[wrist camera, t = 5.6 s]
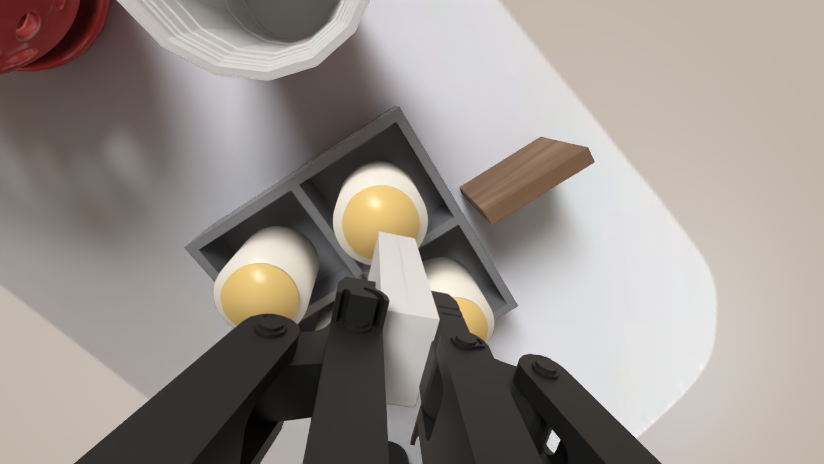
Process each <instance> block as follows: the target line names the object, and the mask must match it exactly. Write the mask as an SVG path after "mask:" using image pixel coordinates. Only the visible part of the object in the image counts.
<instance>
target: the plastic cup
mask: <svg viewBox="0 0 824 464" xmlns="http://www.w3.org/2000/svg"><path fill="white" fill-rule="evenodd" d="M117 1H118V2H119V3H120V4H121V5H122V6H123V7H124V8H125V9H126V10H127V11H128V12H129V14H130V15H131V16H132V17H133V18H134V19H135V20H136V21H137V22H138V23H139V24H140V25H141V26H142V27H143V28H144V29H145V30H146V31H147V32H148V33H149V34H150V35H151V36H152V37H153V38H154V39H155V40H156V41H157V42H158V43H159V44H160V45H161V47H163V48H165V49H167V50H169V51H171V52H172V53H174V54H176V55H178V56H180V57H182V58H184V59H186V60H188V61H190V62H192V63H194V64H196V65H198V66H199V67H201V68H203V69H205V70H207V71H209V72H211V73H213V74H215V75H222V76H230V77H239V78H248V79H256V80H265V81H270V80H274V79H277V78H280V77H283V76H287V75H290V74H293V73H297V72H300V71H303V70H306V69H310V68H313V67H316V66H318V65H319V64H320V63H321V62H322V61H323V60H325V59H326V58H327V57H328V56H329V55H330V54H331V53H332V52H333V51H335V50H336V49H337V48H338V47H339V46H340V45H341V44H342V43H344V42H345V41H346V40H347V39H348V38H349V37H350V36H351V35H353V34H354V33H355V31H356V29H357V27H358V25H359V23H360V21H361V18H362V16H363V14H364V12H365V10H366V8H367V5H368V3H369V1H370V0H117Z"/></svg>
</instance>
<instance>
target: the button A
mask: <svg viewBox="0 0 824 464" xmlns="http://www.w3.org/2000/svg"><path fill="white" fill-rule="evenodd" d="M318 270H319V257H318V253H317V251H316V248H315V246H314V245H313V243H312V242H311V241H310V240H309V239H308V238H307V237H306V236H305V235H304V234H302V233H301V232H299V231H297V230H295V229H292V228H289V227H284V226H272V227H267V228H264V229H261V230H259V231H257V232H256V233H254V234H253V235H252V236H251V237H250V238H249V239H248V240H247V241H246V242H245V244H244V245H243V246H242V247H241V248H240V249H239V250H238V252H237V253H236V254H235V255H234V256H233V257H232V259H231V260H230V261H229V262H228V263H227V264H226V266H225V267H224V268H223V269H222V270H221V272H220V273H219V275H218V277H217V278H216V281H215V284H214V291H213V296H214V302H215V306H216V308H217V310H218V312H219V314H220V315H221V317H222V318H223V319H224V320H225V321H226V322H227V323H228V324H229V325H230V326H231V327H233V328H235V327H236V326H238V325H239V324H240V323H241V322H242V321H244V320H245V319H247V318H249V317H251V316H255V315H259V314H267V313H268V314H269V313H270V314H277V315H281V316H285V317H287V318H289V319H292V320H293V321H294V322H295V323H297V324H298V323H299V322H300V321H301V320H302V318H303V316H304V315H305V313H306V310H307V307H308V304H309V300H310V297H311V294H312V290H313V287H314V284H315V280H316V277H317V274H318Z"/></svg>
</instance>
